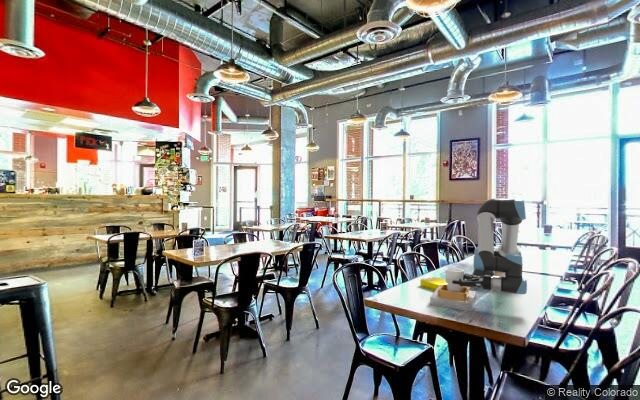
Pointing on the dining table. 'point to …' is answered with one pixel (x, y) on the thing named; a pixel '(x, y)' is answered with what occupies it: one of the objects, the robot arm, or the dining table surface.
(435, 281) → the element tile
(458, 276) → the foam cup
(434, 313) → the dining table surface
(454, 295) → the wooden box on base
